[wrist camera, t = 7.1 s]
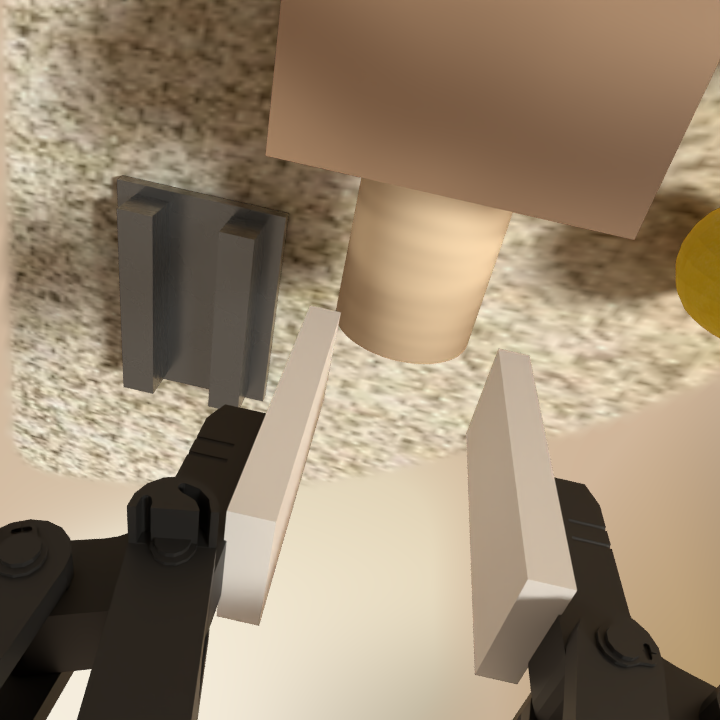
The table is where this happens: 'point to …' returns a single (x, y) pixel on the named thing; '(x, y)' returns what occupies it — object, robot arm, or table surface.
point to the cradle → (197, 289)
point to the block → (496, 98)
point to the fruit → (701, 273)
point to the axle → (416, 271)
